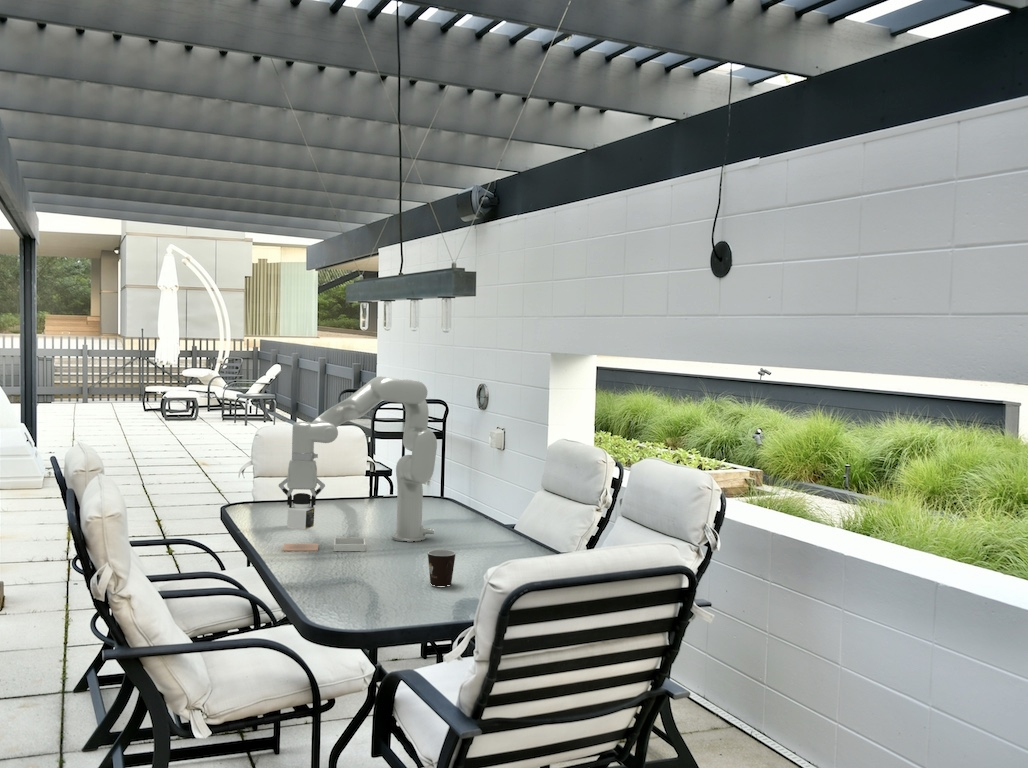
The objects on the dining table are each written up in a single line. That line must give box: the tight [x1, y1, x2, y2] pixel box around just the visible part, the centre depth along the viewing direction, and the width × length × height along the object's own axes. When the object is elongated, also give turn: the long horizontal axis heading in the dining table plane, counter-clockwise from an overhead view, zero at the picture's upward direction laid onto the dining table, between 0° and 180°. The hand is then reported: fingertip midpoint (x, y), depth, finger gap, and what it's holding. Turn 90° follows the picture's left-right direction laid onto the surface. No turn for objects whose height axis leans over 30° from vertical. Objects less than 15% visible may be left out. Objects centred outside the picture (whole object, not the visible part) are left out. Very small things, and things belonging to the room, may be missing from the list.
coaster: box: [281, 543, 320, 551], centre depth 332 cm, size 12×10×1 cm
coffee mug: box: [427, 549, 457, 586], centre depth 288 cm, size 12×9×10 cm
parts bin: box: [333, 537, 366, 552], centre depth 335 cm, size 11×11×2 cm
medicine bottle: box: [286, 492, 315, 531], centre depth 331 cm, size 7×7×12 cm
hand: (301, 506), depth 331 cm, fingers closed on medicine bottle, 7 cm apart
